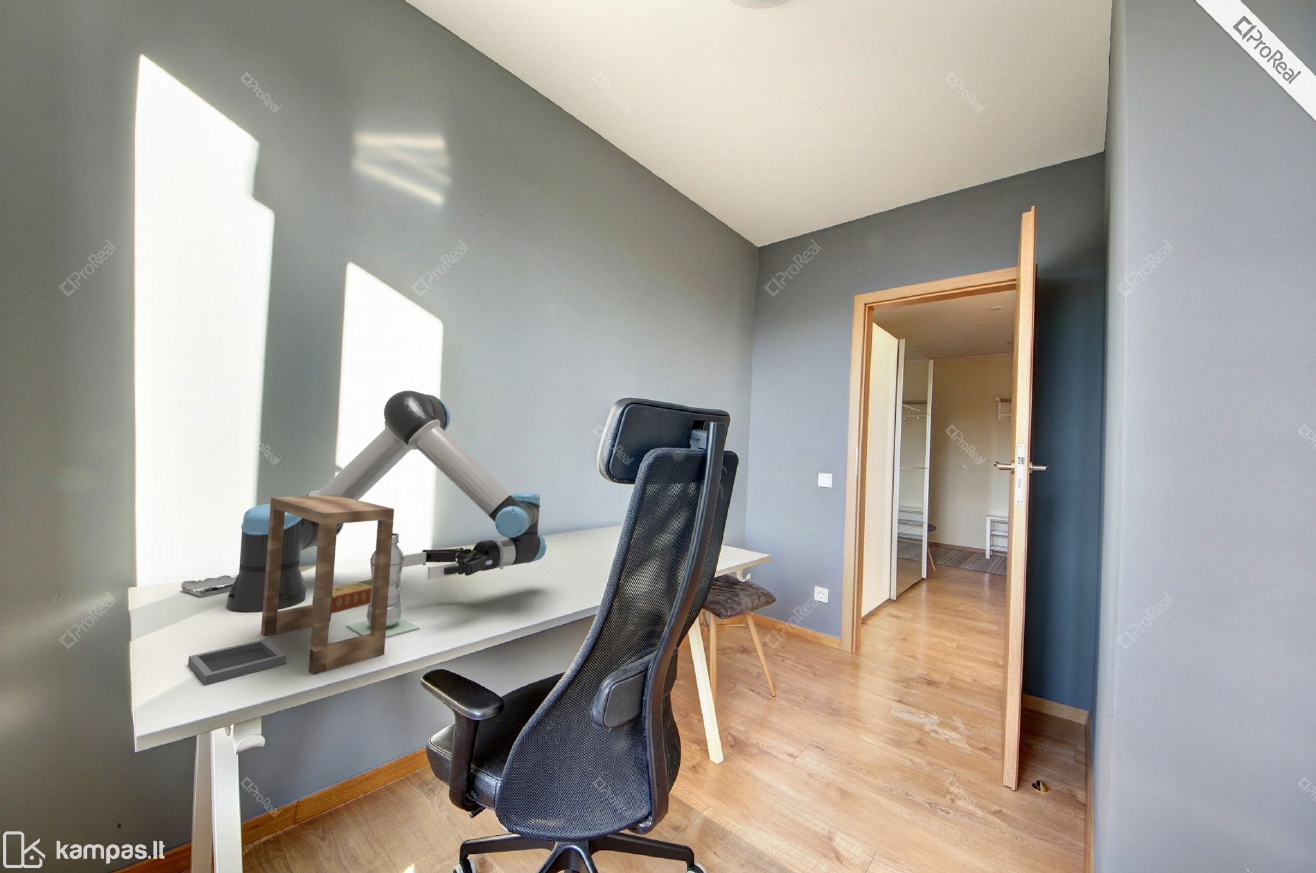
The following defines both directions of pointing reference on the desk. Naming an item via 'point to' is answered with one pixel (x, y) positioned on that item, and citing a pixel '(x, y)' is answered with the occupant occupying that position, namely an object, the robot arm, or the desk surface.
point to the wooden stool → (328, 578)
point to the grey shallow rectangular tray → (235, 661)
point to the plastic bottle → (391, 584)
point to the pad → (391, 631)
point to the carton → (351, 595)
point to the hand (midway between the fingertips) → (412, 567)
